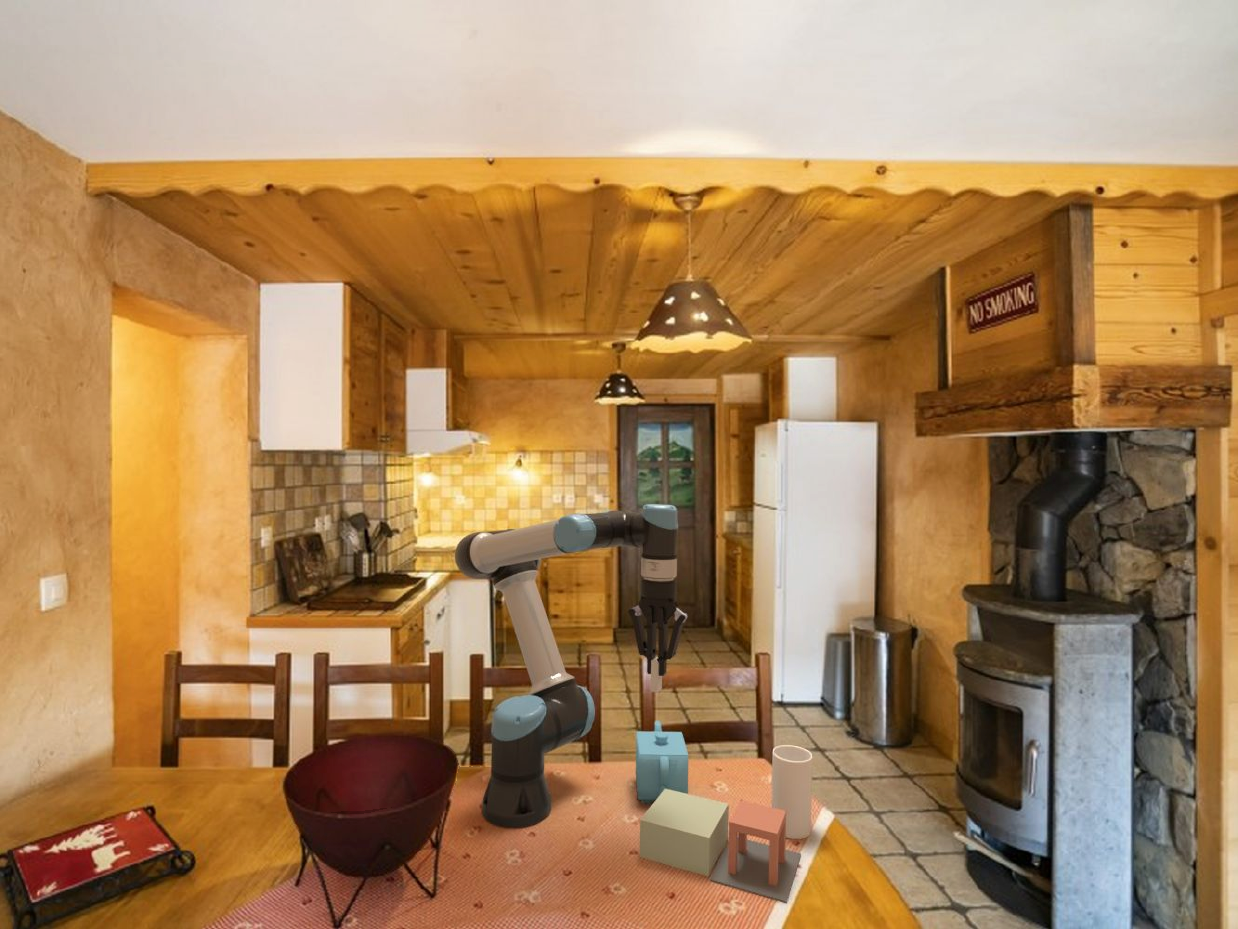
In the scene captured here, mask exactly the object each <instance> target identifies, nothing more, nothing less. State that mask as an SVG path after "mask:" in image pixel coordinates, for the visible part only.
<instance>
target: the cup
mask: <svg viewBox="0 0 1238 929" xmlns="http://www.w3.org/2000/svg"><path fill="white" fill-rule="evenodd" d="M771 762H772V763H771V764H772V767H771V769H772V770H771V803H770V804H771V805H770V806H771V807H772V808H776V809H780V810H785V811H786V838H787V839H792V840H800V839H805V838H808V837H809V836H810V835H811V833H812V800H813V799H812V797H813V796H812V795H813V794H812V792H813V754H812V753H811V751H809V750H808V749H806V748H804V747H803V746H802V747H801V746H796V745H793V744H791V745H790V744H783V745H777V746H775V747H773V749H772V761H771Z"/></svg>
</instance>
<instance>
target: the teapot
mask: <svg viewBox="0 0 1238 929" xmlns="http://www.w3.org/2000/svg"><path fill="white" fill-rule="evenodd" d="M635 736H636V738H635V740H636V741H635V742H636V743H635V779H636V780H635V781H636V782H635V783H636V791H637V799H638V800H639V801H640V802H642V803H644V804H653V803H654V801H656V799H657V798H658V797H659V796H660V794H661V793H662V792H663V791H664V789H669V790H673V791H677V792H682V793H686V794H689V762H690V761H689V760H690V759H689V753H688V749H687V746H686V742H685V738H684V735H683V733H682V731H663V728H662V722H661V721H660V720H655V721H654V729H653V731H643V730H642V731H638V730H637V731H636V734H635Z"/></svg>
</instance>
